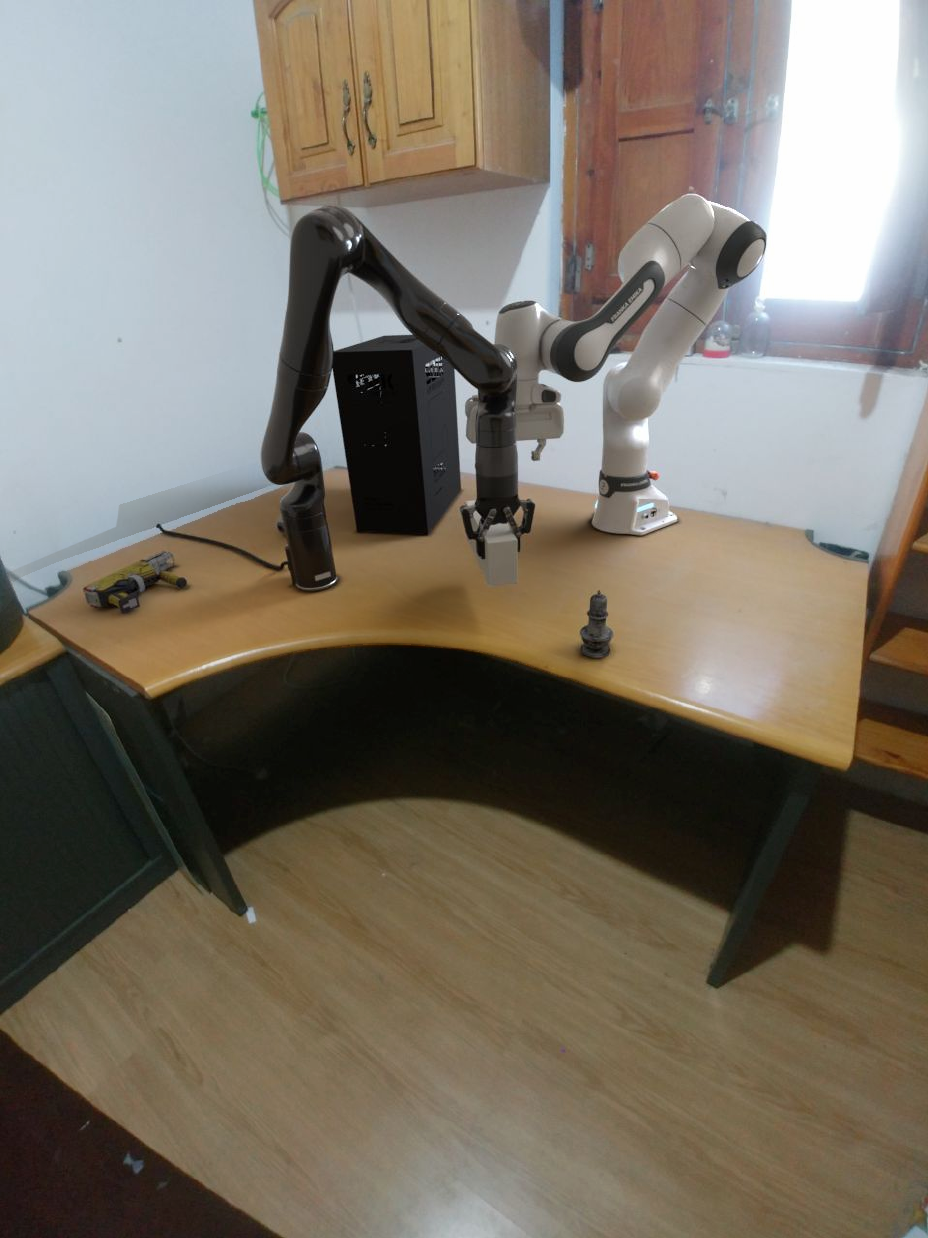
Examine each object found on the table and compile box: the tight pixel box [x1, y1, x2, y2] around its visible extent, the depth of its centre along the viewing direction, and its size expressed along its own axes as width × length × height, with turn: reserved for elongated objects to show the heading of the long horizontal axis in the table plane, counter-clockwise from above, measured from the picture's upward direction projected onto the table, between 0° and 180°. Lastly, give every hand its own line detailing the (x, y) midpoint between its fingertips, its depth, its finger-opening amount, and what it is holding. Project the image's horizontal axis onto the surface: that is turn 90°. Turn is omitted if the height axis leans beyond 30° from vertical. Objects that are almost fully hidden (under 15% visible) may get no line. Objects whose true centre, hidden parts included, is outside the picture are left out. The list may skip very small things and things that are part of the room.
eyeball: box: [275, 513, 286, 535], centre depth 163 cm, size 6×6×6 cm
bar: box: [464, 499, 519, 587], centre depth 122 cm, size 24×6×9 cm, turn 10°
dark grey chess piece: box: [579, 589, 614, 659], centre depth 105 cm, size 6×6×12 cm
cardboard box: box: [332, 334, 462, 536], centre depth 166 cm, size 38×20×45 cm, turn 167°
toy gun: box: [82, 550, 188, 615], centre depth 138 cm, size 5×24×15 cm
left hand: (498, 555), depth 115 cm, fingers closed on bar, 5 cm apart
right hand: (514, 461), depth 128 cm, fingers open, 8 cm apart
